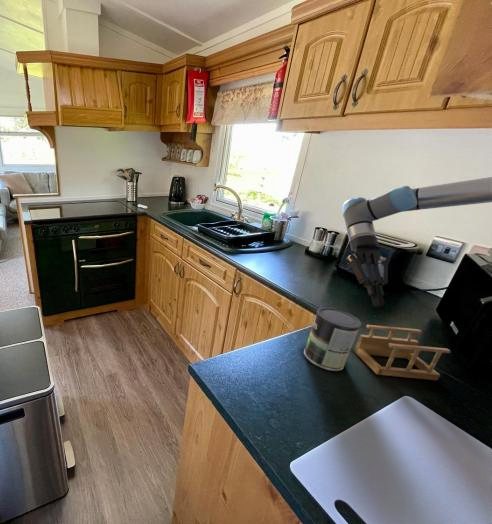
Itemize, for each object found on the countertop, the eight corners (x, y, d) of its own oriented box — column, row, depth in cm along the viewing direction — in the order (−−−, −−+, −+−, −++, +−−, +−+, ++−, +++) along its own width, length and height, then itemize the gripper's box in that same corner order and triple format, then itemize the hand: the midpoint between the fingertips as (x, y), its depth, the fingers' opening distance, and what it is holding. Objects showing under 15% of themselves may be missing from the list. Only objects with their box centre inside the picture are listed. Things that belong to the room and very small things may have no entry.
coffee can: (299, 359, 82) (313, 316, 77) (307, 343, 90) (320, 303, 85) (342, 377, 76) (360, 332, 71) (346, 358, 84) (363, 316, 79)
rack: (353, 351, 88) (364, 324, 84) (407, 356, 87) (420, 329, 84) (376, 374, 78) (390, 345, 75) (437, 380, 78) (453, 351, 74)
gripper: (373, 246, 102) (390, 310, 93) (336, 242, 103) (349, 307, 93) (390, 235, 95) (410, 304, 86) (350, 232, 96) (366, 300, 86)
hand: (379, 305), depth 89 cm, fingers closed
